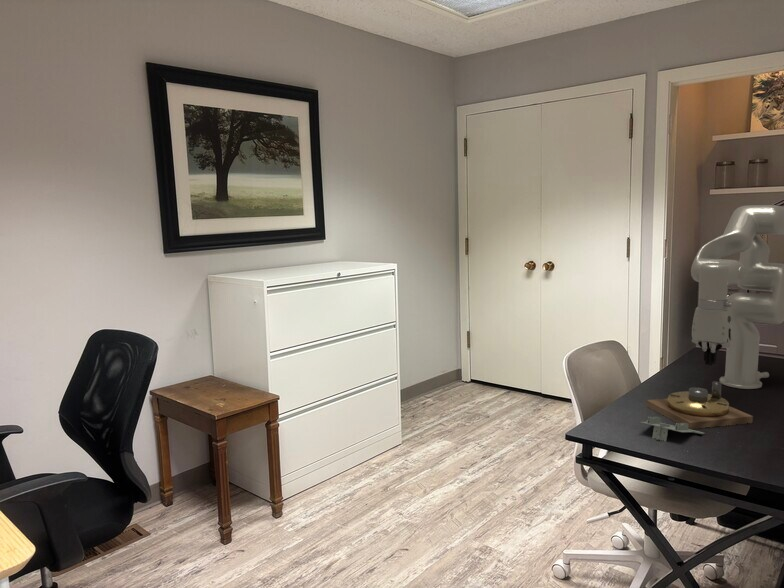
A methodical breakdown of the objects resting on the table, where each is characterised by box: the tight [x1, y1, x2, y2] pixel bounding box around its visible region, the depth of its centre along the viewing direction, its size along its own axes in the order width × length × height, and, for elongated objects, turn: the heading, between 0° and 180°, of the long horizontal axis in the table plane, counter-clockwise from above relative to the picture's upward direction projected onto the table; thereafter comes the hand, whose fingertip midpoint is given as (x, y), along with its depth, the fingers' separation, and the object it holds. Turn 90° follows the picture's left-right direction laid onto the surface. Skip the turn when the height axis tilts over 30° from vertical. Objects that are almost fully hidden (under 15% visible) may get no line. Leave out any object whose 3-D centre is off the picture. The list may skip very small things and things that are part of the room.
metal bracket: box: [640, 416, 706, 442], centre depth 164 cm, size 14×6×15 cm
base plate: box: [645, 397, 754, 430], centre depth 178 cm, size 20×20×2 cm
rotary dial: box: [667, 380, 730, 416], centre depth 177 cm, size 16×16×7 cm
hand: (709, 363), depth 181 cm, fingers closed
